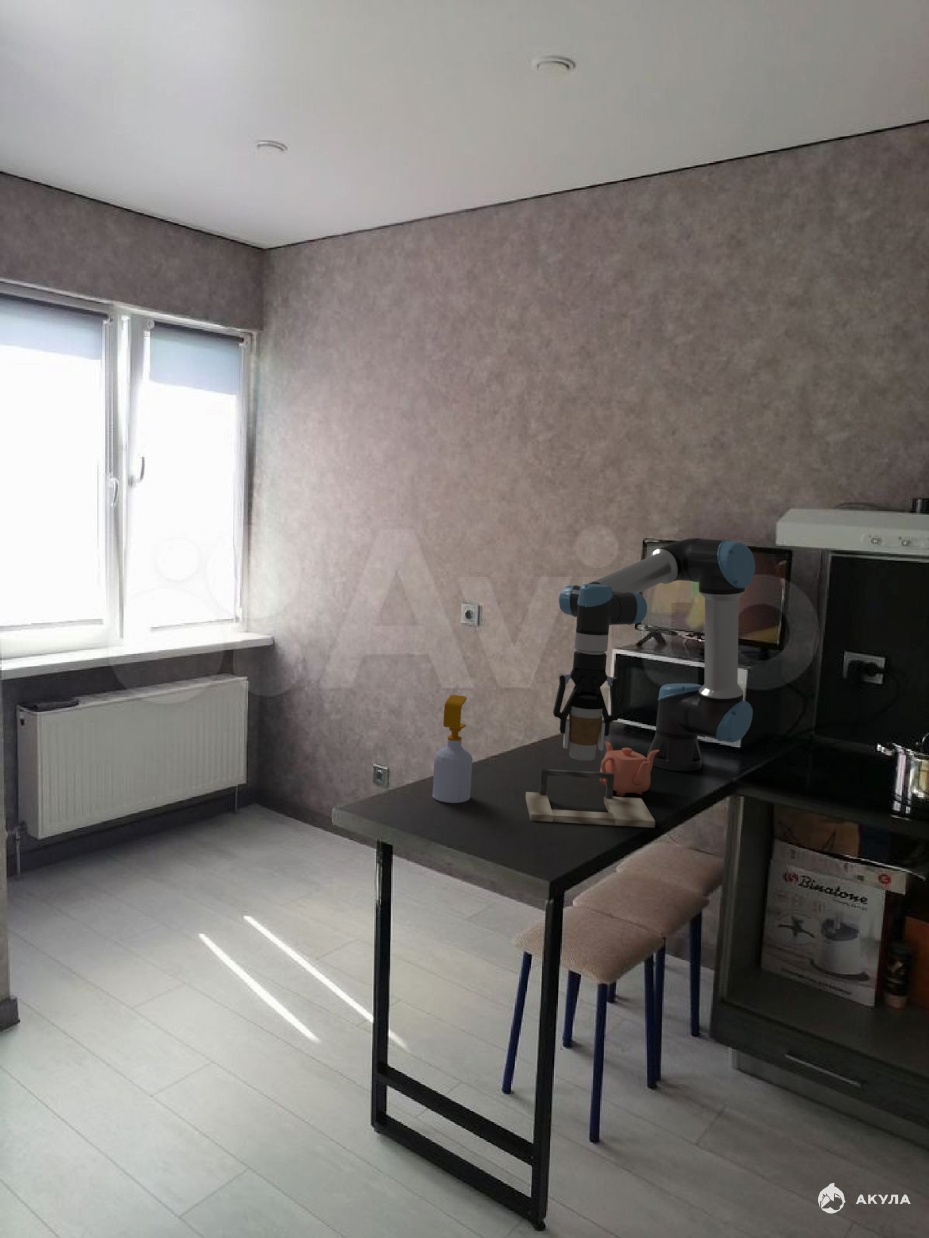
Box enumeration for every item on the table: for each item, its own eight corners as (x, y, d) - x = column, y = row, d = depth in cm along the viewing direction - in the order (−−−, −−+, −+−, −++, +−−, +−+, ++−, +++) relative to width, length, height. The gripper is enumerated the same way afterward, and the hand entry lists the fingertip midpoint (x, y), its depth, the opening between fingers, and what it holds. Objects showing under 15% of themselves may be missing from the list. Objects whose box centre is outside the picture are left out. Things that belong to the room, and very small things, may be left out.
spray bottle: (474, 795, 220) (481, 695, 217) (462, 806, 212) (468, 702, 208) (440, 789, 223) (445, 691, 220) (426, 800, 214) (432, 697, 211)
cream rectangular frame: (640, 804, 221) (643, 774, 220) (654, 827, 205) (657, 795, 204) (525, 797, 220) (527, 767, 219) (530, 820, 205) (532, 788, 204)
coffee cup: (599, 753, 216) (604, 692, 214) (601, 763, 208) (606, 699, 206) (564, 750, 217) (568, 689, 215) (564, 760, 209) (569, 696, 207)
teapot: (601, 778, 240) (605, 738, 239) (656, 787, 235) (660, 746, 234) (589, 793, 227) (592, 750, 226) (646, 803, 222) (650, 759, 221)
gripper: (631, 651, 213) (623, 746, 216) (544, 646, 213) (537, 741, 216) (638, 656, 206) (629, 755, 209) (547, 651, 206) (540, 749, 208)
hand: (582, 747), depth 212 cm, fingers closed on coffee cup, 8 cm apart
